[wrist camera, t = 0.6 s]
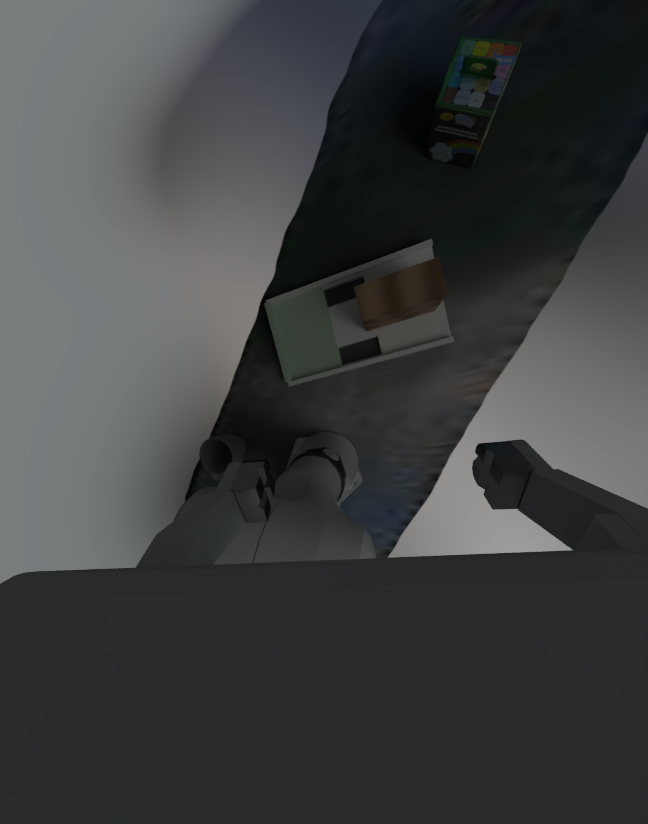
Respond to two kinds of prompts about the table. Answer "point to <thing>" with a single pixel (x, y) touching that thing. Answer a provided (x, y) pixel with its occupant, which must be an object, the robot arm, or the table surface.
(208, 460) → the mug
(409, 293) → the walnut block
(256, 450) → the table surface
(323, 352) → the box
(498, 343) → the table surface
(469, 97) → the chalk box
